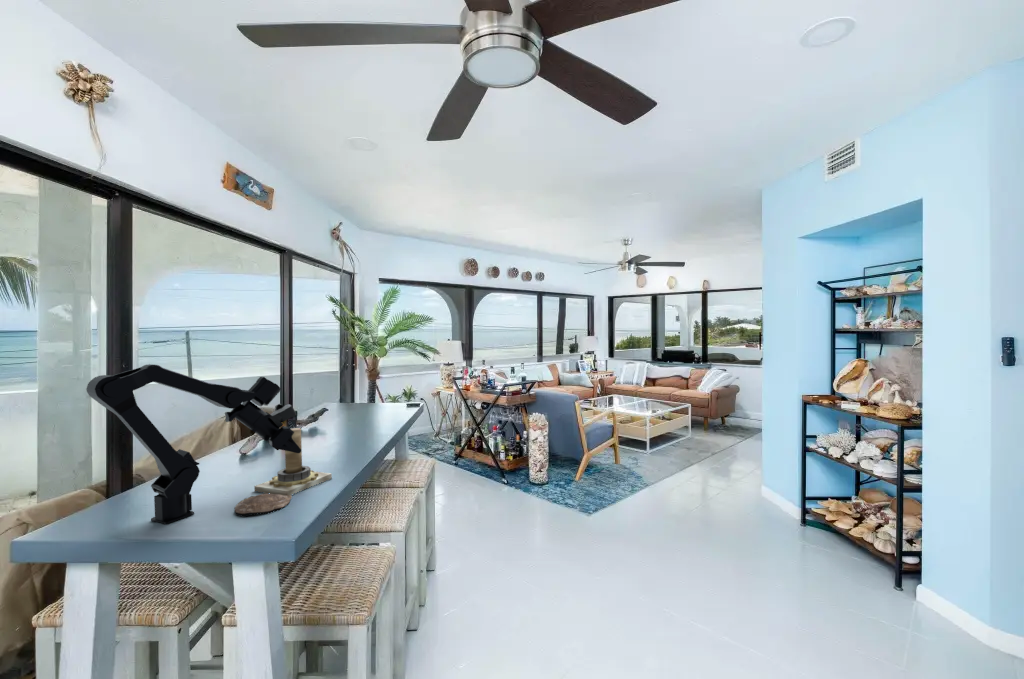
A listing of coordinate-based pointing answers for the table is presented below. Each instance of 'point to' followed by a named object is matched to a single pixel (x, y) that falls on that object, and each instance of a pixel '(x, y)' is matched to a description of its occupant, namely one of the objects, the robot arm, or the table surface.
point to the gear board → (292, 481)
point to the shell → (262, 504)
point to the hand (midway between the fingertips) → (298, 450)
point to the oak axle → (294, 455)
